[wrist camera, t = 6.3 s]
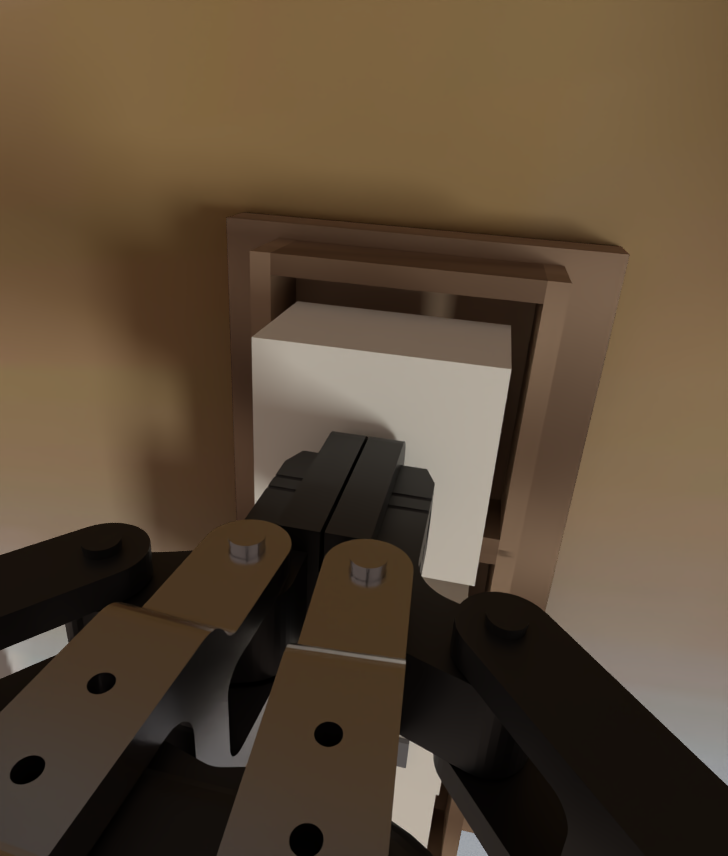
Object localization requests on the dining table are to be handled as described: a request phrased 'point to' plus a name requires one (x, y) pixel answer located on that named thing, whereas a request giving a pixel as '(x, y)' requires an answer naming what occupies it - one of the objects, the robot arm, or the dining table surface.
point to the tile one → (390, 406)
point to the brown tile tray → (465, 300)
